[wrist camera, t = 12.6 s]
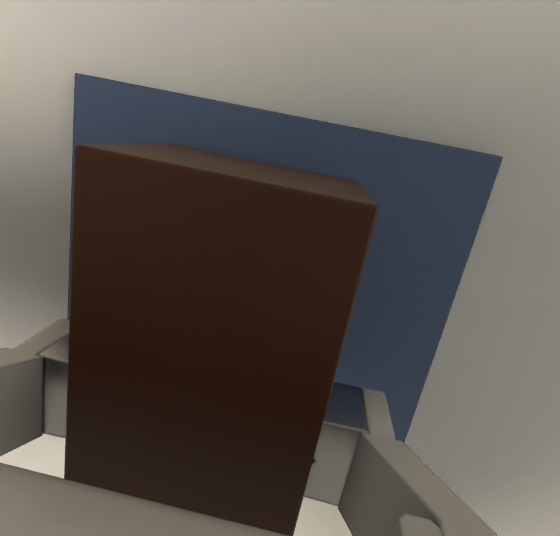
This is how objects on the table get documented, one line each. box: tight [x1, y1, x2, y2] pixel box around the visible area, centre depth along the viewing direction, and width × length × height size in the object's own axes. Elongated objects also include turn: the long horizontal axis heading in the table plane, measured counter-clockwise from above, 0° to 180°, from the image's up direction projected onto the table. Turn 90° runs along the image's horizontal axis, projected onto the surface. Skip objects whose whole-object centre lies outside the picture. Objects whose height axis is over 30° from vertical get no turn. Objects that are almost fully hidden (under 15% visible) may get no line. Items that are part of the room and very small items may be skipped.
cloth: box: [68, 73, 503, 443], centre depth 13 cm, size 12×12×1 cm
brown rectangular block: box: [64, 144, 379, 536], centre depth 9 cm, size 10×4×4 cm, turn 169°
